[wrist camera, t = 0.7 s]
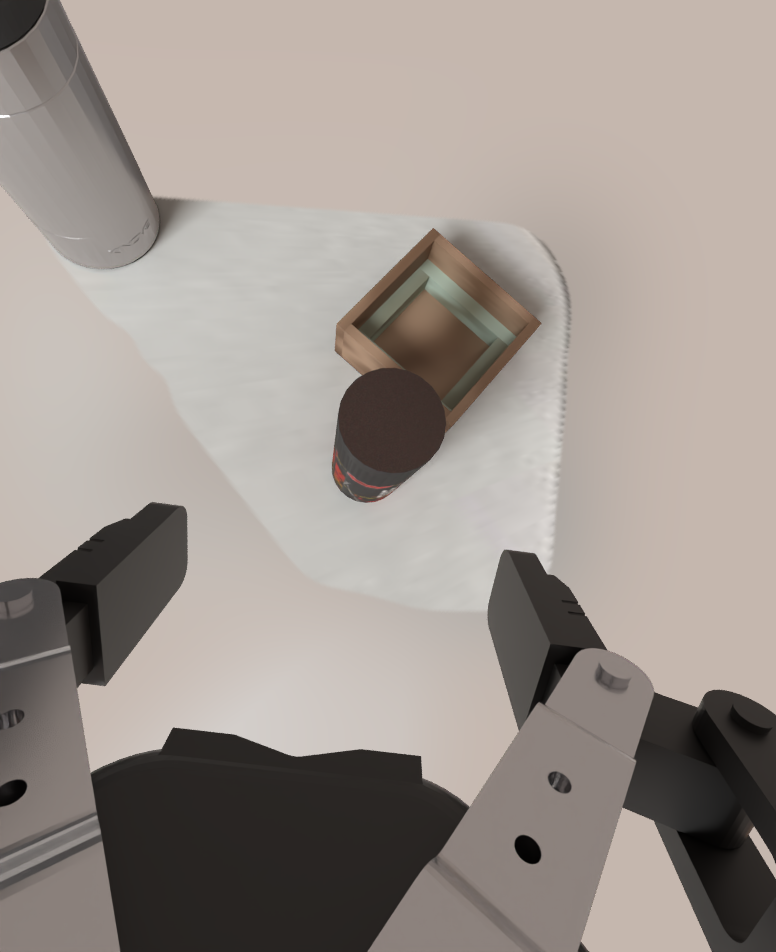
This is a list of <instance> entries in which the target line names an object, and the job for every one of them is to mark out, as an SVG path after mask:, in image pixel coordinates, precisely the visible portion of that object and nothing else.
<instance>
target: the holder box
mask: <svg viewBox="0 0 776 952" xmlns="http://www.w3.org/2000/svg"><path fill="white" fill-rule="evenodd" d="M540 325H541V322H540V321H538V320H537V319H536V318H535V317H534V316H533V315H532V314H530V313H529V312H528V311H527V310H526V309H525V308H524V307H523V306H521V305H520V304H519V303H518V302H517V301H516V300H515V299H513V298H512V297H511V296H510V295H509V294H508V293H507V292H505V291H504V290H503V289H502V288H501V287H500V286H499V285H498V284H496V283H495V282H494V281H493V280H492V279H491V278H490V277H488V276H487V275H486V274H485V273H484V272H483V271H482V270H480V269H479V268H478V267H477V266H476V265H475V264H474V263H472V262H471V261H470V260H469V259H468V258H467V257H466V256H465V255H463V254H462V253H461V252H460V251H459V250H458V249H457V248H455V247H454V246H453V245H452V244H451V243H450V242H449V241H447V240H446V239H445V238H444V237H443V236H442V235H441V234H440V233H438V232H437V231H436V230H435V229H434V228H433V229H432V230H431V231H430V232H429V233H428V234H427V235H426V236H425V237H424V238H423V239H422V240H421V241H420V242H419V243H418V244H417V245H416V246H415V247H414V248H413V249H412V250H411V251H410V252H409V253H408V254H407V255H406V256H405V257H404V258H403V259H401V260H400V261H399V262H398V263H397V264H396V265H395V266H394V267H393V268H392V269H391V270H390V271H389V272H388V273H387V274H386V275H385V276H384V277H383V278H382V279H381V280H380V281H379V282H378V283H377V284H376V285H375V286H374V287H373V288H372V289H371V290H370V291H369V292H368V293H367V294H366V295H365V296H364V297H363V298H362V299H361V300H360V301H359V302H358V303H357V304H356V305H355V306H354V307H353V308H352V309H351V310H350V311H349V312H348V313H347V314H346V315H345V316H344V317H343V318H342V319H341V320H340V321H339V322H338V323H337V326H336V341H335V352H337V353H338V354H339V355H340V356H341V357H342V358H343V359H345V360H346V361H347V362H348V363H349V364H350V365H351V366H353V367H354V368H355V369H356V370H357V371H358V372H359V373H360V374H362V375H364V374H366V373H367V372H370V371H373V370H376V369H380V368H398V369H403V370H407V371H410V372H412V373H414V374H416V375H418V376H420V377H421V378H423V379H424V380H425V381H426V382H427V383H429V384H430V385H431V386H432V387H433V389H434V390H435V392H436V393H437V394H438V396H439V397H440V400H441V402H442V405H443V407H444V410H445V418H446V428H445V433H446V432H447V431H448V430H449V429H450V428H451V427H452V426H453V425H454V424H455V422H456V421H457V420H458V419H459V418H460V417H461V416H462V414H463V413H464V412H465V411H466V410H467V409H468V407H469V406H470V405H471V404H472V403H473V402H474V401H475V399H476V398H477V397H478V396H479V395H480V394H481V392H482V391H483V390H484V389H485V388H486V387H487V386H488V384H489V383H490V382H491V381H492V380H493V379H494V378H495V376H496V375H497V374H498V373H499V372H500V371H501V369H502V368H503V367H504V366H505V365H506V364H507V363H508V361H509V360H510V359H511V358H512V357H513V356H514V355H515V353H516V352H517V351H518V350H519V349H520V348H521V346H522V345H523V344H524V343H525V342H526V341H527V340H528V338H529V337H530V336H531V335H532V334H533V333H534V331H535V330H536V329H537V328H538V327H539V326H540Z"/></svg>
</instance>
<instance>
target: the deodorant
mask: <svg viewBox="0 0 776 952" xmlns="http://www.w3.org/2000/svg"><path fill="white" fill-rule="evenodd" d="M445 428H446V418H445V410H444V407H443V405H442V402H441V400H440V397H439V396H438V394H437V393H436V392H435V390H434V389H433V387H432V386H431V385H430V384H429V383H427V382H426V381H425V380H424V379H423V378H421V377H420V376H418V375H416V374H414V373H412V372H410V371H407V370H403V369H398V368H380V369H376V370H373V371H370V372H367V373H366V374H364V375H362V376H361V377H359V378H358V379H356V380H355V381H354V382H353V383H352V384H351V385H350V387H349V388H348V389H347V390H346V392H345V394H344V396H343V398H342V400H341V403H340V408H339V413H338V420H337V429H336V437H335V445H334V453H333V461H332V474H333V478H334V480H335V483H336V485H337V486H338V488H339V489H340V491H341V492H343V493H344V494H345V495H346V496H347V497H349V498H351V499H353V500H355V501H359V502H365V503H367V502H376V501H378V500H381V499H383V498H385V497H386V496H388V495H389V494H391V493H392V492H393V491H394V490H395V489H396V488H398V487H399V486H400V485H401V484H402V483H403V482H405V481H406V480H407V479H408V478H409V477H411V476H412V475H413V474H414V473H415V472H416V471H418V470H419V469H420V468H421V467H422V466H423V465H425V464H426V463H427V462H428V461H429V460H430V459H431V458H432V457H433V456H434V454H435V453H436V452H437V451H438V450H439V448H440V445H441V443H442V441H443V439H444V435H445Z"/></svg>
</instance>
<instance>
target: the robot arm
mask: <svg viewBox="0 0 776 952" xmlns="http://www.w3.org/2000/svg"><path fill="white" fill-rule="evenodd" d="M0 186H1V187H2V188H3V189H4V190H5V191H6V192H7V194H8V195H9V196H10V197H11V198H12V199H13V200H14V202H15V203H16V204H17V205H18V206H19V207H20V209H21V210H22V211H23V212H24V213H25V214H26V216H27V217H28V218H29V219H30V220H31V222H32V223H33V224H34V225H35V226H36V227H37V228H38V229H39V231H40V232H41V233H42V234H43V235H44V236H45V238H46V239H47V240H48V241H49V242H50V243H51V244H52V246H53V247H54V248H55V249H56V250H57V251H58V252H59V253H60V254H62V255H63V256H64V257H65V258H67V259H69V260H70V261H72V262H74V263H76V264H79V265H82V266H85V267H89V268H96V269H111V268H116V267H121V266H124V265H126V264H129V263H131V262H134V261H135V260H137V259H138V258H140V257H141V256H143V255H144V254H145V253H146V252H147V251H148V250H149V248H150V247H151V246H152V244H153V243H154V241H155V239H156V237H157V234H158V231H159V222H160V217H159V212H158V208H157V206H156V203H155V201H154V199H153V197H152V195H151V193H150V190H149V188H148V186H147V184H146V182H145V180H144V178H143V176H142V173H141V171H140V169H139V167H138V164H137V162H136V160H135V158H134V156H133V154H132V152H131V150H130V147H129V146H128V143H127V141H126V139H125V137H124V135H123V133H122V130H121V128H120V126H119V124H118V122H117V120H116V118H115V116H114V114H113V111H112V109H111V107H110V105H109V103H108V101H107V99H106V97H105V95H104V92H103V90H102V88H101V86H100V84H99V82H98V80H97V77H96V75H95V73H94V71H93V69H92V67H91V65H90V63H89V61H88V59H87V56H86V54H85V52H84V50H83V48H82V46H81V44H80V42H79V39H78V37H77V35H76V33H75V31H74V29H73V27H72V25H71V23H70V21H69V19H68V17H67V15H66V12H65V10H64V8H63V6H62V4H61V2H60V0H0ZM186 570H187V512H186V509H185V508H184V507H183V506H177V505H170V504H162V503H155V502H152V503H150V504H148V505H147V506H146V507H145V508H143V509H142V510H141V511H140V512H138V513H137V514H136V515H135V516H134V517H132V518H131V519H123V520H121V521H118V522H116V523H113V524H111V525H108V526H106V527H104V528H103V529H101V530H100V531H99V532H97V533H96V534H95V535H93V536H92V537H91V538H90V540H89V541H86V542H84V543H83V544H82V545H81V546H79V547H78V550H74V551H73V552H72V553H70V554H69V555H68V556H66V557H65V558H64V559H63V560H61V561H60V562H59V563H57V564H56V565H55V566H53V567H52V568H51V569H50V570H48V571H47V572H46V573H44V574H43V575H42V576H41V577H40V578H25V579H16V580H11V581H5V582H2V583H0V952H589V951H588V950H587V949H586V947H585V946H584V945H583V944H582V942H581V939H582V935H583V932H584V929H585V926H586V923H587V920H588V916H589V913H590V910H591V907H592V903H593V900H594V897H595V894H596V890H597V887H598V884H599V881H600V878H601V874H602V871H603V868H604V865H605V861H606V858H607V855H608V852H609V848H610V845H611V842H612V839H613V836H614V832H615V829H616V826H617V822H618V819H619V816H620V813H621V810H622V807H623V808H625V809H627V810H630V811H632V812H635V813H637V814H639V815H642V816H644V817H647V818H649V819H651V820H654V822H655V825H656V827H657V829H658V831H659V834H660V836H661V838H662V840H663V842H664V845H665V847H666V849H667V851H668V854H669V856H670V858H671V860H672V863H673V865H674V867H675V870H676V872H677V874H678V876H679V879H680V881H681V883H682V885H683V887H684V890H685V892H686V894H687V896H688V899H689V901H690V903H691V905H692V907H693V910H694V912H695V914H696V917H697V919H698V921H699V923H700V926H701V928H702V930H703V932H704V935H705V937H706V939H707V941H708V944H709V946H710V948H711V950H712V952H776V879H775V877H774V876H773V874H772V872H771V871H770V869H769V867H768V866H767V864H766V863H765V861H764V859H763V858H762V856H761V854H760V853H759V851H758V849H757V848H756V846H755V845H754V843H753V841H752V840H751V838H750V836H749V833H750V831H751V830H752V828H753V827H755V828H756V829H757V831H758V833H759V834H760V836H761V838H762V839H763V841H764V842H765V844H766V845H767V847H768V849H769V850H770V852H771V854H772V856H773V858H774V860H775V863H776V715H775V714H774V713H772V712H771V711H770V710H768V709H767V708H765V707H764V706H762V705H760V704H759V703H757V702H755V701H753V700H751V699H749V698H747V697H744V696H742V695H740V694H736V693H733V692H729V691H725V690H712V691H709V692H707V693H706V694H705V695H704V697H703V699H702V701H701V703H700V705H699V707H698V708H697V707H695V706H692V705H689V704H686V703H683V702H680V701H677V700H674V699H672V698H669V697H666V696H663V695H660V694H658V693H655V692H654V688H653V685H652V683H651V681H650V679H649V678H648V677H647V675H646V674H645V673H644V672H643V671H642V670H641V669H640V668H639V667H638V666H636V665H635V664H633V663H632V662H631V661H629V660H628V659H626V658H624V657H622V656H620V655H618V654H616V653H613V652H610V651H608V650H607V649H606V647H605V646H604V644H603V642H602V641H601V639H600V637H599V636H598V634H597V633H596V631H595V629H594V628H593V626H592V624H591V623H590V621H589V619H588V618H587V616H585V613H584V611H583V610H582V608H581V606H580V605H578V601H577V600H576V598H575V596H574V595H573V593H572V592H571V590H570V589H569V587H567V586H566V585H565V584H564V583H563V582H561V581H560V580H559V579H558V578H557V577H555V576H554V575H548V574H546V572H545V570H544V568H543V566H542V565H541V563H540V561H539V559H538V557H537V556H536V554H534V553H528V552H520V551H512V550H504V551H503V552H502V554H501V557H500V561H499V565H498V569H497V572H496V576H495V580H494V584H493V588H492V592H491V596H490V600H489V605H488V625H489V629H490V632H491V636H492V640H493V643H494V647H495V650H496V653H497V656H498V660H499V664H500V667H501V671H502V674H503V678H504V681H505V685H506V688H507V691H508V695H509V698H510V702H511V705H512V709H513V712H514V715H515V719H516V722H517V726H518V729H519V732H518V734H517V735H516V737H515V738H514V740H513V741H512V743H511V744H510V746H509V747H508V749H507V751H506V752H505V754H504V755H503V757H502V758H501V760H500V761H499V763H498V764H497V766H496V768H495V769H494V771H493V772H492V774H491V775H490V777H489V778H488V780H487V781H486V783H485V785H484V786H483V788H482V789H481V791H480V792H479V794H478V795H477V797H476V799H475V800H474V801H473V803H472V805H471V806H470V807H469V806H468V805H467V804H465V803H464V802H463V801H462V800H461V799H459V798H458V797H457V796H455V795H453V794H452V793H450V792H449V791H447V790H446V789H444V788H442V787H440V786H438V785H436V784H434V783H433V782H430V781H428V780H425V779H423V778H422V767H421V756H415V755H406V754H397V753H388V752H380V751H371V750H363V749H361V750H360V749H359V750H352V751H343V752H335V753H327V754H319V755H311V756H303V757H295V756H290V755H287V754H284V753H282V752H279V751H276V750H274V749H271V748H268V747H266V746H263V745H260V744H258V743H255V742H253V741H250V740H247V739H245V738H242V737H239V736H237V735H232V734H224V733H215V732H207V731H198V730H189V729H180V728H173V729H172V730H171V732H170V734H169V736H168V738H167V740H166V742H165V744H164V746H163V748H162V749H160V750H153V751H148V752H144V753H139V754H135V755H132V756H129V757H126V758H123V759H120V760H117V761H115V762H113V763H110V764H108V765H105V766H103V767H101V768H99V769H97V770H95V771H93V772H92V773H90V767H89V761H88V755H87V748H86V742H85V736H84V730H83V723H82V718H81V711H80V704H79V699H78V692H77V688H78V687H79V685H80V684H81V683H83V684H92V685H100V686H106V684H107V683H108V682H109V680H110V679H111V678H112V677H113V675H114V674H115V672H116V671H117V670H118V669H119V667H120V666H121V664H122V663H123V662H124V661H125V659H126V658H127V657H128V655H129V654H130V653H131V651H132V650H133V649H134V647H135V646H136V645H137V643H138V642H139V641H140V639H141V638H142V637H143V635H144V634H145V633H146V631H147V630H148V629H149V627H150V626H151V625H152V623H153V622H154V621H155V619H156V618H157V617H158V616H159V614H160V613H161V612H162V610H163V609H164V608H165V606H166V605H167V603H168V602H169V601H170V600H171V598H172V597H173V595H174V594H175V593H176V592H177V590H178V589H179V588H180V586H181V584H182V582H183V580H184V577H185V574H186Z"/></svg>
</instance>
